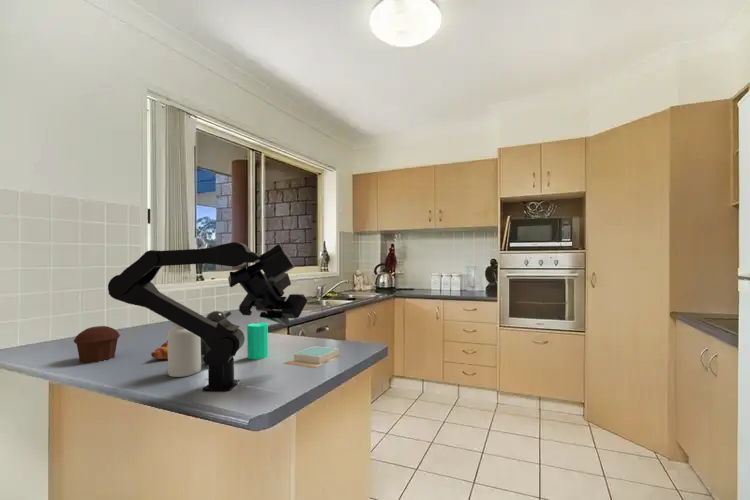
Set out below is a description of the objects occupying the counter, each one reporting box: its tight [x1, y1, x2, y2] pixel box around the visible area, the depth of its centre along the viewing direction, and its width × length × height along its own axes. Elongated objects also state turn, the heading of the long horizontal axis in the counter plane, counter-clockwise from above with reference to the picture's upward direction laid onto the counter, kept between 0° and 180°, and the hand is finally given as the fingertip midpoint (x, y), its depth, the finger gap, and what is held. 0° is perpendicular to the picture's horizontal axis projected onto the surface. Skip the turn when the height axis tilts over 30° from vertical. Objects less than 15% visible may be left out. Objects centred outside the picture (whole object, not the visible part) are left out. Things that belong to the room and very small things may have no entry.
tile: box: [293, 345, 340, 364], centre depth 112 cm, size 2×9×10 cm
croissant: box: [150, 340, 168, 360], centre depth 122 cm, size 21×10×8 cm, turn 156°
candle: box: [246, 318, 269, 360], centre depth 115 cm, size 6×6×12 cm
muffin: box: [73, 325, 121, 364], centre depth 118 cm, size 12×11×10 cm
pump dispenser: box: [201, 310, 232, 364], centre depth 111 cm, size 10×10×15 cm
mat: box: [283, 354, 343, 369], centre depth 111 cm, size 14×11×1 cm
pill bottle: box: [166, 322, 202, 378], centre depth 101 cm, size 8×8×15 cm
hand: (287, 323), depth 103 cm, fingers closed
